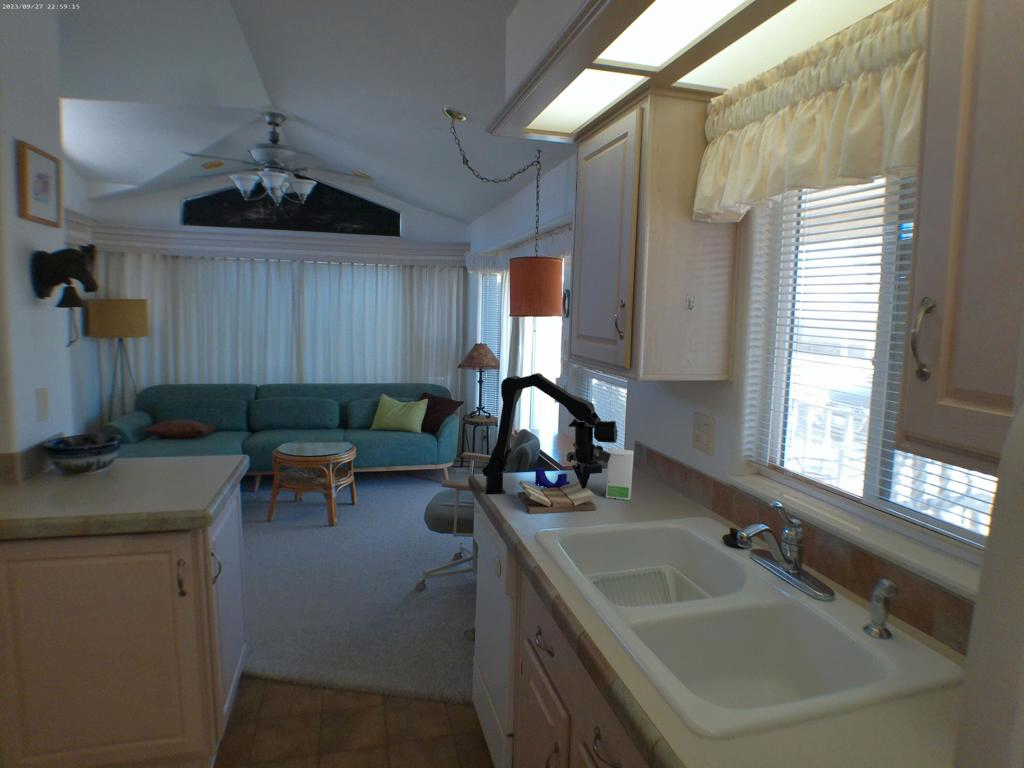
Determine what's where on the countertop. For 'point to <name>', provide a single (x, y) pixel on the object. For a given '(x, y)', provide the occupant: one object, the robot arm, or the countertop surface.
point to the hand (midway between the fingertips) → (583, 488)
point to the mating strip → (556, 497)
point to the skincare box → (619, 474)
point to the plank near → (534, 493)
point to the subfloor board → (540, 508)
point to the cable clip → (544, 481)
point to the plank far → (577, 493)
